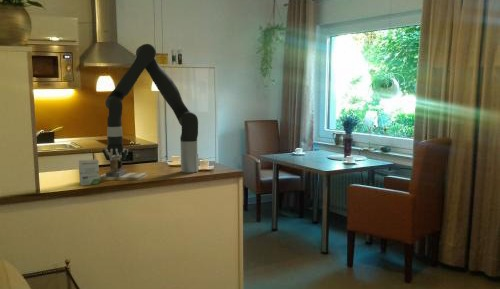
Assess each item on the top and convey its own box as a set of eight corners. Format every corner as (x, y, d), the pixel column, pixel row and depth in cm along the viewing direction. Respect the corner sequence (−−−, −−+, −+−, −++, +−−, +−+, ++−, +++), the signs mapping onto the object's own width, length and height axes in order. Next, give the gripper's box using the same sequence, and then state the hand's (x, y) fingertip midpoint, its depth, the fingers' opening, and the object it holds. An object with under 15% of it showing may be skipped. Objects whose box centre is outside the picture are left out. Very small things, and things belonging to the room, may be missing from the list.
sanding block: (126, 173, 239) (126, 158, 238) (119, 176, 228) (118, 161, 227) (113, 172, 240) (113, 158, 239) (105, 176, 229) (105, 161, 228)
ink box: (97, 182, 223) (96, 158, 221) (99, 183, 219) (98, 160, 217) (79, 183, 219) (78, 160, 217) (81, 185, 214) (79, 161, 213)
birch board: (147, 175, 239) (147, 172, 239) (139, 180, 227) (139, 177, 226) (107, 175, 241) (107, 172, 241) (97, 180, 228) (97, 177, 228)
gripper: (130, 134, 235) (131, 167, 237) (104, 134, 236) (105, 167, 238) (125, 136, 227) (126, 169, 229) (98, 136, 228) (100, 169, 230)
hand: (116, 168), depth 234 cm, fingers closed on sanding block, 3 cm apart
